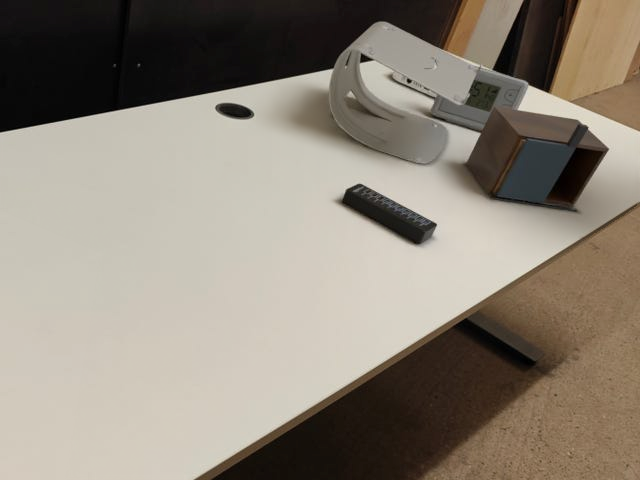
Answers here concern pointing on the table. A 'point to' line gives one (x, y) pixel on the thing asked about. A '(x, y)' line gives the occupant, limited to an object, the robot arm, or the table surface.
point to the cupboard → (509, 137)
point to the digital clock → (482, 99)
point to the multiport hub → (389, 213)
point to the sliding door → (539, 167)
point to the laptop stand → (396, 126)
